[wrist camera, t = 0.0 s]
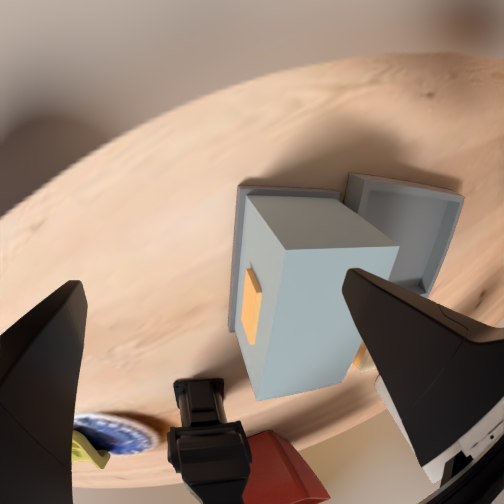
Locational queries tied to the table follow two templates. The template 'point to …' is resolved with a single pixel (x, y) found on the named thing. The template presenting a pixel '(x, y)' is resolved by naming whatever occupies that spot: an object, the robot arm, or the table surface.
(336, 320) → the box
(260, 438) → the plant pot
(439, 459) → the cylinder vase
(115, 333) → the table surface
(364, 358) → the block
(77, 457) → the plastic component
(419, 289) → the parts tray
